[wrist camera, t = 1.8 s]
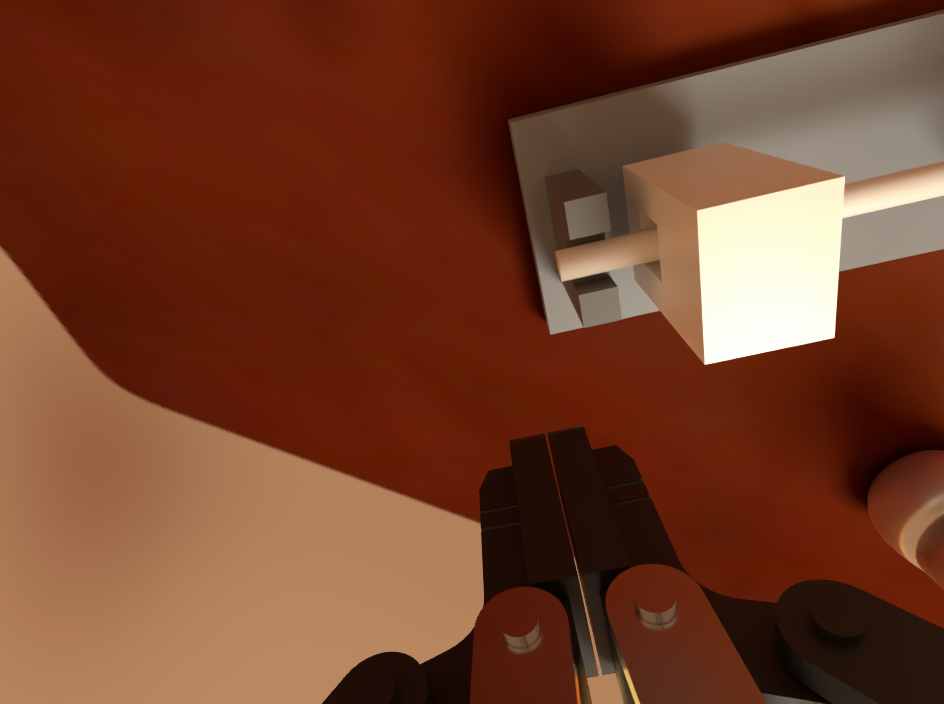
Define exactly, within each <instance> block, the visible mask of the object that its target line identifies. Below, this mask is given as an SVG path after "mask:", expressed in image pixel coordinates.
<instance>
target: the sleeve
mask: <svg viewBox="0 0 944 704" xmlns="http://www.w3.org/2000/svg"><path fill="white" fill-rule="evenodd" d="M622 168H623V177H624V186H625V196H626V205H627V214H628V224H629V233H630V234H631V233H635V232H639V231H644V230H648V229H652V228H657V231H658V243H659V255H660V260H656V261H652V262H647V263H643V264H638V265H634V266H633V270H634V279H635V281H636V282H637V283H638V285H639V286H640V287H641V288H642V290H643V291H644V292H645V293H646V294H647V296H648V297H649V298H650V299H651V300H652V302H653V303H654V304H655V305H656V306H657V308H658V309H659V310H660V311H661V312H662V314H663V315H664V316H665V317H666V318H667V320H668V321H669V322H670V323H671V324H672V326H673V327H674V328H675V329H676V331H677V332H678V333H679V334H680V335H681V337H682V338H683V339H684V340H685V341H686V343H687V344H688V345H689V346H690V347H691V349H692V350H693V351H694V352H695V353H696V355H697V356H698V357H699V358H700V359H701V361H702V362H703V363H704V364H705V365H706V364H710V363H715V362H720V361H725V360H730V359H734V358H739V357H744V356H749V355H754V354H758V353H763V352H768V351H773V350H778V349H782V348H787V347H792V346H797V345H802V344H806V343H811V342H816V341H821V340H826V339H830V338H834V335H835V320H836V305H837V291H838V276H839V261H840V246H841V231H842V216H843V201H844V186H845V176H842V175H839V174H835V173H832V172H828V171H824V170H821V169H817V168H814V167H810V166H807V165H803V164H799V163H796V162H792V161H789V160H785V159H782V158H778V157H774V156H771V155H767V154H764V153H760V152H756V151H753V150H749V149H746V148H742V147H739V146H735V145H731V144H728V143H724V142H720V143H716V144H711V145H707V146H703V147H699V148H695V149H691V150H687V151H682V152H678V153H674V154H670V155H666V156H662V157H658V158H653V159H649V160H645V161H641V162H637V163H633V164H629V165H624V166H622Z"/></svg>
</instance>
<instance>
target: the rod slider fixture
mask: <svg viewBox="0 0 944 704" xmlns="http://www.w3.org/2000/svg"><path fill="white" fill-rule="evenodd" d="M508 124H509V129H510V134H511V140H512V145H513V150H514V155H515V161H516V166H517V171H518V176H519V182H520V187H521V192H522V197H523V203H524V208H525V213H526V219H527V224H528V229H529V234H530V240H531V245H532V250H533V255H534V261H535V266H536V271H537V277H538V282H539V287H540V292H541V298H542V303H543V308H544V313H545V319H546V323H547V326H548V329H549V332H550V334H555V333H559V332H564V331H569V330H573V329H578V328H582V327H584V328H586V327H590V326H595V325H599V324H604V323H609V322H613V321H618V320H622V319H624V318H628V317H633V316H637V315H642V314H647V313H651V312H656V311H660V310H659V309H658V308H657V306H656V305H655V304H654V303H653V302H652V300H651V299H650V298H649V297H648V296H647V294H646V293H645V292H644V291H643V290H642V288H641V287H640V286H639V285H638V283H637V282H636V281H635V279H634V270H633V266H634V265H638V264H643V263H647V262H652V261H656V260H660V255H659V243H658V231H657V228H652V229H648V230H644V231H639V232H635V233H631V234H630V233H629V224H628V214H627V205H626V196H625V186H624V177H623V168H622V166H624V165H629V164H633V163H637V162H641V161H645V160H649V159H653V158H658V157H662V156H666V155H670V154H674V153H678V152H682V151H687V150H691V149H695V148H699V147H703V146H707V145H711V144H716V143H720V142H724V143H728V144H731V145H735V146H739V147H742V148H746V149H749V150H753V151H756V152H760V153H764V154H767V155H771V156H774V157H778V158H782V159H785V160H789V161H792V162H796V163H799V164H803V165H807V166H810V167H814V168H817V169H821V170H824V171H828V172H832V173H835V174H839V175H842V176H845V186H844V201H843V216H842V231H841V246H840V261H839V271H844V270H848V269H853V268H858V267H862V266H867V265H871V264H876V263H881V262H885V261H890V260H894V259H899V258H903V257H908V256H913V255H917V254H922V253H926V252H931V251H936V250H940V249H944V9H943V10H939V11H935V12H931V13H928V14H924V15H920V16H916V17H912V18H908V19H904V20H900V21H896V22H892V23H888V24H884V25H880V26H876V27H872V28H868V29H864V30H860V31H856V32H852V33H848V34H844V35H840V36H836V37H833V38H829V39H825V40H821V41H817V42H813V43H809V44H805V45H801V46H797V47H793V48H789V49H785V50H781V51H777V52H773V53H769V54H765V55H761V56H757V57H753V58H749V59H745V60H742V61H738V62H734V63H730V64H726V65H722V66H718V67H714V68H710V69H706V70H702V71H698V72H694V73H690V74H686V75H682V76H678V77H674V78H670V79H666V80H662V81H658V82H654V83H651V84H647V85H643V86H639V87H635V88H631V89H627V90H623V91H619V92H615V93H611V94H607V95H603V96H599V97H595V98H591V99H587V100H583V101H579V102H575V103H571V104H567V105H563V106H560V107H556V108H552V109H548V110H544V111H540V112H536V113H532V114H528V115H524V116H520V117H516V118H512V119H508Z"/></svg>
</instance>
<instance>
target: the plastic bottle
mask: <svg viewBox="0 0 944 704" xmlns="http://www.w3.org/2000/svg"><path fill="white" fill-rule="evenodd" d="M867 500H868V514H869V517H870V519H871V521H872V522H873V524H874V525H875V527H876V529H877V530H878V532H879V533H880V535H881V537H882V538H883V539H884V540H885V541H886V543H888V544H889V545H890V546H891V547H892V548H893V549H895V550H896V551H897V552H898V553H899V554H901V555H902V556H903V557H904V558H905V559H907V560H908V561H910V562H911V563H912V564H914V565H915V566H917V567H918V568H920V569H921V570H923V571H924V572H925V573H926V574H927V575H929V576H930V577H931V578H932V579H933V580H934V581H935V582H936V583H937V584H938V585H940V586H941V587H942V588H943V589H944V451H942V450H924V451H918V452H914V453H911V454H908V455H906V456H904V457H901V458H899V459H897V460H896V461H894V462H892V463H891V464H889V465H888V466H887V467H886V468H884V469H883V470H882V471H881V472H880V473H879V474H878V475H877V476H876V478H875V479H874V481H873V482H872V484H871V486H870V488H869V491H868V496H867Z"/></svg>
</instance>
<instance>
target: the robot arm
mask: <svg viewBox="0 0 944 704" xmlns="http://www.w3.org/2000/svg"><path fill="white" fill-rule="evenodd" d="M548 438H549V443H550V448H551V453H552V458H553V462H554V467H555V472H556V477H557V481H558V486H559V491H560V496H561V500H562V505H563V509H564V514H565V518H566V522H567V527H568V531H569V535H570V539H571V543H572V548H573V552H574V556H575V560H576V564H577V569H578V573H579V577H580V581H581V585H582V590H583V593H584V598H585V602H586V607H587V611H588V615H589V619H590V623H591V627H592V632H593V636H594V640H595V644H596V649H597V653H598V657H599V661H600V665H601V669H602V674H603V675H606V674H612V673H616V676H617V680H618V684H619V688H620V692H621V695H622V699H623V703H624V704H944V629H943V628H941V627H939V626H937V625H935V624H932V623H930V622H928V621H926V620H924V619H922V618H920V617H918V616H916V615H913V614H911V613H909V612H907V611H905V610H903V609H901V608H899V607H897V606H894V605H892V604H890V603H888V602H886V601H884V600H882V599H880V598H878V597H875V596H873V595H871V594H869V593H867V592H865V591H863V590H861V589H858V588H856V587H853V586H851V585H848V584H844V583H841V582H836V581H830V580H808V581H804V582H800V583H797V584H795V585H793V586H791V587H790V588H788V589H787V590H786V591H785V592H784V593H783V594H782V595H781V596H780V598H779V600H778V602H777V603H771V602H762V601H753V600H744V599H737V598H731V597H727V596H724V595H720V594H718V593H716V592H713V591H711V590H709V589H707V588H705V587H704V586H702V585H700V584H699V583H698V582H696V581H695V580H694V579H693V578H692V577H691V576H690V575H689V574H688V573H687V572H686V571H685V570H684V568H683V567H682V565H681V563H680V561H679V559H678V557H677V555H676V553H675V550H674V548H673V546H672V544H671V541H670V539H669V537H668V535H667V533H666V530H665V528H664V526H663V524H662V521H661V519H660V517H659V515H658V513H657V510H656V508H655V506H654V504H653V501H652V499H650V495H649V493H648V490H647V488H646V486H645V484H644V483H643V480H642V477H641V475H640V473H639V470H638V468H637V466H636V464H635V462H634V460H633V459H632V458H631V457H630V456H628V455H627V454H626V453H625V452H623V451H622V450H621V449H620V448H618V447H617V446H616V445H614V446H609V447H604V448H599V449H594V450H592V449H591V446H590V443H589V441H588V438H587V435H586V432H585V429H584V427H583V426H578V427H573V428H568V429H563V430H558V431H553V432H548ZM509 442H510V450H511V458H512V465H513V466H510V467H505V468H500V469H495V470H490V471H488V473H487V475H486V477H485V479H484V481H483V483H482V486H481V488H480V490H479V496H480V512H481V515H480V518H481V530H482V532H481V538H482V561H483V582H484V605H483V609H482V610H481V611H480V613H479V616H478V617H477V620H476V623H475V627H474V628H473V630H472V631H471V632H470V633H469V634H468V635H467V636H466V637H465V638H464V640H462V641H461V642H460V643H458V644H457V645H456V646H455V647H452V648H451V649H449V650H447V651H445V652H443V653H442V654H440V655H438V656H436V657H434V658H432V659H430V660H428V661H426V662H424V663H422V664H419V663H418V662H417V661H416V660H415V659H414V658H412V657H411V656H409V655H407V654H404V653H400V652H384V653H380V654H376V655H374V656H372V657H369V658H367V659H366V660H364V661H362V662H361V663H359V664H358V665H357V666H355V667H354V668H353V669H352V670H351V671H350V672H349V673H348V674H347V675H346V676H345V677H344V678H343V680H342V681H341V682H340V683H339V684H338V685H337V687H336V688H335V689H334V690H333V691H332V692H331V694H330V695H329V696H328V697H327V698H326V699H325V701H324V702H323V703H322V704H592V700H591V696H590V691H589V686H588V681H587V678H589V677H595V676H598V670H597V666H596V661H595V656H594V651H593V646H592V641H591V637H590V632H589V627H588V623H587V618H586V613H585V608H584V603H583V598H582V594H581V589H580V584H579V579H578V575H577V571H576V566H575V562H574V558H573V553H572V549H571V545H570V541H569V536H568V532H567V528H566V524H565V519H564V515H563V511H562V506H561V502H560V498H559V494H558V489H557V485H556V481H555V477H554V472H553V468H552V464H551V460H550V455H549V451H548V447H547V443H546V438H545V434H539V435H534V436H529V437H525V438H520V439H515V440H510V441H509Z"/></svg>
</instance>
